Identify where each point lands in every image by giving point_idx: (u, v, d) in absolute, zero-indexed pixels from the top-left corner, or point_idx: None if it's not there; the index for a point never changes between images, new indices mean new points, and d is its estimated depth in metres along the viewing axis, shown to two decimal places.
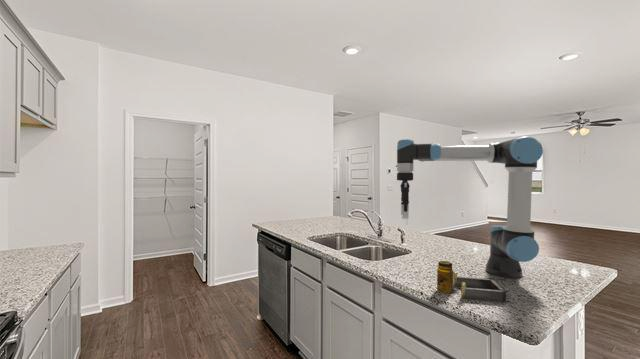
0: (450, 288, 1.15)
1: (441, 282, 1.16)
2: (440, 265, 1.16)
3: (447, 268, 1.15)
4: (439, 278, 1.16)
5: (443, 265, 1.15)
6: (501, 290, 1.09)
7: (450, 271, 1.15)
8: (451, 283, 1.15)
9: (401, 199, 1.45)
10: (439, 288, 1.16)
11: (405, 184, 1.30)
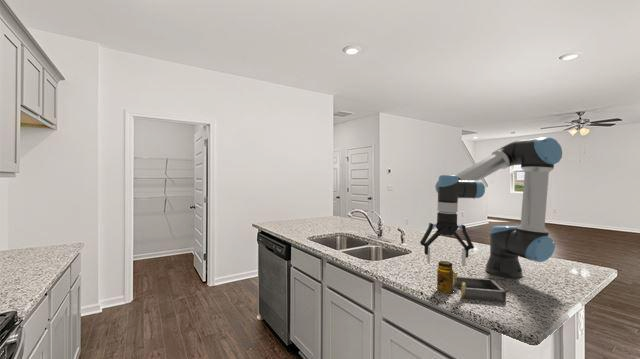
0: (450, 288, 1.15)
1: (441, 282, 1.16)
2: (440, 265, 1.16)
3: (447, 268, 1.15)
4: (439, 278, 1.16)
5: (443, 265, 1.15)
6: (501, 290, 1.09)
7: (450, 271, 1.15)
8: (451, 283, 1.15)
9: None
10: (439, 288, 1.16)
11: (429, 225, 1.19)
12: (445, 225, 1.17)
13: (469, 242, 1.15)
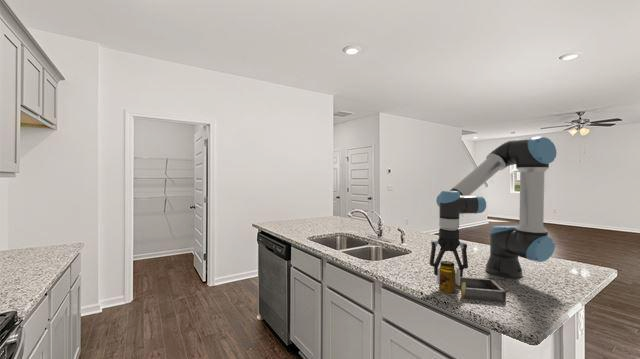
0: (452, 288, 1.15)
1: (443, 282, 1.16)
2: (442, 265, 1.16)
3: (449, 268, 1.15)
4: (441, 278, 1.16)
5: (445, 265, 1.15)
6: (501, 290, 1.09)
7: (452, 271, 1.15)
8: (453, 282, 1.15)
9: None
10: (441, 288, 1.16)
11: (431, 244, 1.19)
12: (446, 239, 1.17)
13: (465, 261, 1.15)
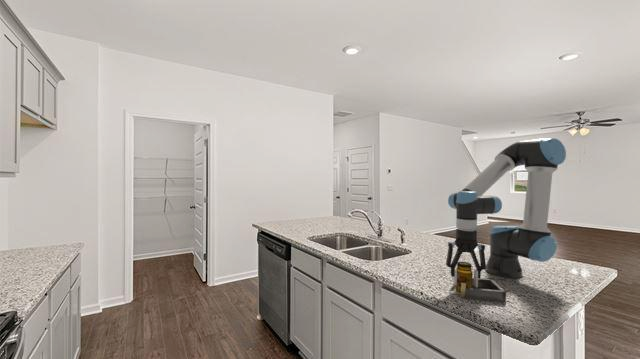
0: None
1: None
2: (461, 266, 1.15)
3: (469, 269, 1.14)
4: (460, 280, 1.15)
5: (465, 266, 1.14)
6: (501, 290, 1.09)
7: (471, 271, 1.14)
8: None
9: None
10: (460, 290, 1.15)
11: (448, 244, 1.18)
12: (464, 240, 1.15)
13: (483, 262, 1.14)
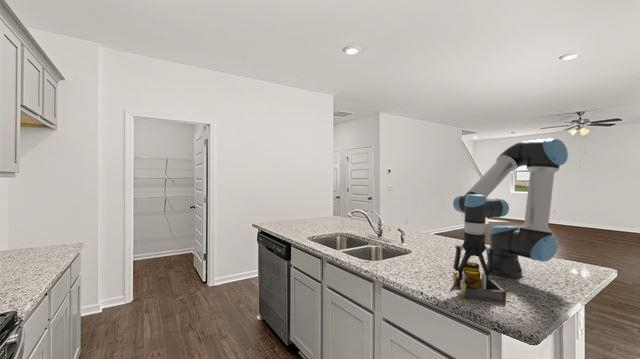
0: None
1: (471, 284, 1.13)
2: (470, 267, 1.14)
3: (477, 270, 1.13)
4: (469, 280, 1.14)
5: (473, 267, 1.13)
6: (501, 290, 1.09)
7: (479, 272, 1.14)
8: None
9: None
10: None
11: (456, 248, 1.17)
12: (472, 244, 1.15)
13: (491, 266, 1.13)
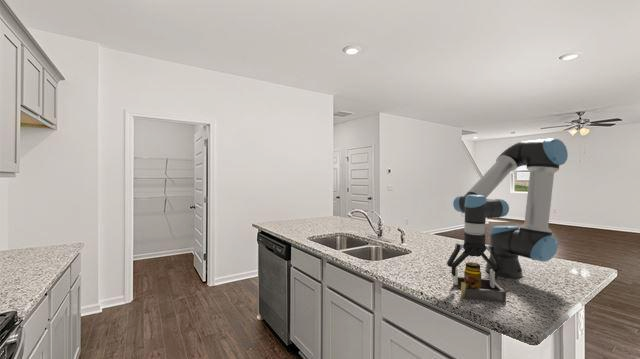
0: None
1: (472, 284, 1.13)
2: (471, 267, 1.14)
3: (478, 270, 1.13)
4: (470, 281, 1.14)
5: (474, 267, 1.13)
6: (501, 290, 1.09)
7: (480, 272, 1.14)
8: None
9: None
10: None
11: (456, 245, 1.17)
12: (473, 246, 1.15)
13: (498, 263, 1.13)
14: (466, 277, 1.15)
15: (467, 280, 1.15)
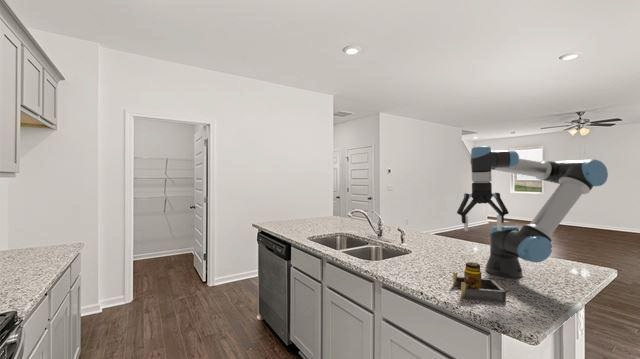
0: None
1: (472, 284, 1.13)
2: (471, 267, 1.14)
3: (478, 270, 1.13)
4: (470, 281, 1.14)
5: (474, 267, 1.13)
6: (501, 290, 1.09)
7: (480, 272, 1.14)
8: None
9: None
10: None
11: (465, 195, 1.26)
12: (480, 194, 1.24)
13: (504, 208, 1.22)
14: (466, 277, 1.15)
15: (467, 280, 1.15)
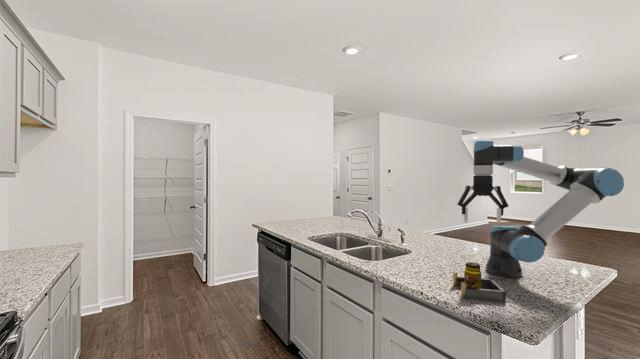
0: None
1: (472, 284, 1.13)
2: (471, 267, 1.14)
3: (478, 270, 1.13)
4: (470, 281, 1.14)
5: (474, 267, 1.13)
6: (501, 290, 1.09)
7: (480, 272, 1.14)
8: None
9: None
10: None
11: (466, 187, 1.30)
12: (481, 186, 1.27)
13: (504, 201, 1.26)
14: (466, 277, 1.15)
15: (467, 280, 1.15)
